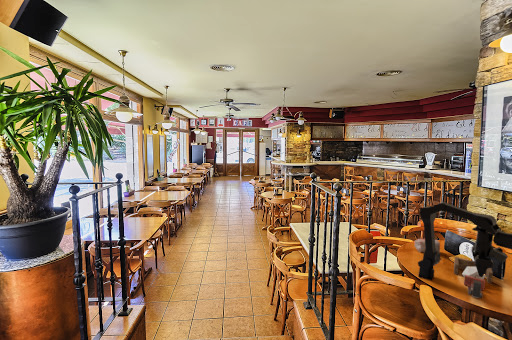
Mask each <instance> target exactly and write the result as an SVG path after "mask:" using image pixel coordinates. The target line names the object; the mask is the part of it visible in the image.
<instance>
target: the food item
mask: <svg viewBox="0 0 512 340" xmlns="http://www.w3.org/2000/svg"><path fill="white" fill-rule="evenodd" d="M440 244H441V242H439V240H438V239H435V248H436V250H437V252H440V251H441V250H440V249H441V245H440ZM414 248H415V249H416V250H417V251H418V252H419V253H423V254H424V252H425V237H423V238H417V239H416V240H414Z"/></svg>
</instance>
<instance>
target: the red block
mask: <svg viewBox="0 0 512 340" xmlns="http://www.w3.org/2000/svg"><path fill="white" fill-rule="evenodd" d="M463 280H464V281H463V285H464V286H467V287H468V286H470V287H471V297H472V298H477V299H479V298H480V290H481V291H484V290H485V285H486V280H485V279H479V278H475V277H471V276H467V275H465V277H463ZM480 299H481V298H480Z"/></svg>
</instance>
